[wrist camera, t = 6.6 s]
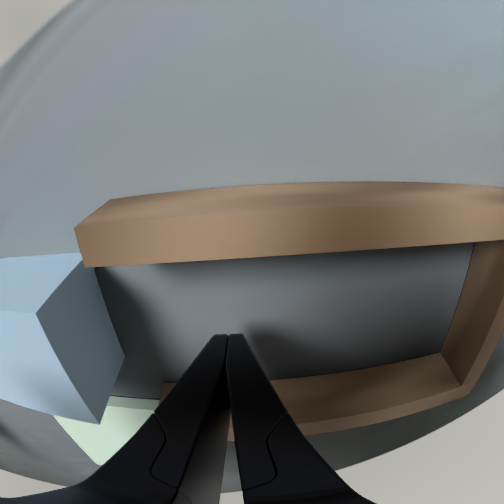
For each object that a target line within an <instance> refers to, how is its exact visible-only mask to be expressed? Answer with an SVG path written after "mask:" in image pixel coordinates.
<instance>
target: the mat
mask: <svg viewBox="0 0 504 504" xmlns="http://www.w3.org/2000/svg"><path fill="white" fill-rule="evenodd" d="M158 404H159V400H152V399H138V398H126V397H116V396H110V398H109V400H108V403H107V406H106V409H105V412H104V414H103V417H102V420H101V423H100V425H98V424H92V423H87V422H82V421H78V420H73V419H69V418H64V417H60V416H56V415H53V416H54V417H55V418H56V420H57V421H58V422H59V423H60V425H61V426H62V427H63V428H64V429H65V430H66V432H67V433H68V434H69V435H70V436H71V437H72V438H73V440H74V441H75V442H76V443H77V444H78V445H79V446H80V447H81V448H82V449H83V450H84V452H85V453H86V454H87V455H88V456H89V457H90V458H91V459H92V460H93V461H94V462H95V463H96V464H99V465H103V464H104V463H105V462H106V461H107V460H109V459H110V458H111V457H112V456H113V455H114V454H115V453H116V452H117V451H118V450H119V449H120V448H121V447H122V446H123V445H124V444H125V443H126V442H127V441H128V440H129V439H130V438H131V437H132V436H133V435H134V434H135V433H136V432H137V431H138V430H139V428H140V427H141V426H142V425H143V424H144V423H145V421H146V420H147V419H148V418H149V416H150V415H151V414H152V413H154V410H155V409H156V408H157V407H158Z"/></svg>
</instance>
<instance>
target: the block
mask: <svg viewBox="0 0 504 504" xmlns="http://www.w3.org/2000/svg"><path fill="white" fill-rule="evenodd" d="M124 358H125V355H124V353H123V350H122V348H121V345H120V343H119V340H118V338H117V335H116V333H115V330H114V327H113V325H112V322H111V319H110V316H109V314H108V311H107V308H106V305H105V302H104V299H103V296H102V293H101V290H100V287H99V284H98V280H97V277H96V274H95V270H94V267H88V268H85V265H84V262H83V259H82V255H81V253H67V254H53V255H39V256H26V257H13V258H0V399H3V400H6V401H9V402H12V403H15V404H18V405H21V406H24V407H27V408H31V409H34V410H38V411H41V412H45V413H48V414H52V415H56V416H60V417H64V418H69V419H73V420H78V421H82V422H87V423H92V424H98V425H100V423H101V420H102V417H103V414H104V412H105V409H106V406H107V403H108V400H109V398H110V395H111V392H112V389H113V387H114V384H115V381H116V379H117V376H118V374H119V371H120V368H121V366H122V363H123V361H124Z"/></svg>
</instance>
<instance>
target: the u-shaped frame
mask: <svg viewBox="0 0 504 504" xmlns="http://www.w3.org/2000/svg"><path fill="white" fill-rule="evenodd" d="M74 230H75V234H76V238H77V241H78V245H79V249H80V252H81V255H82V259H83V262H84V265H85V268H88V267H105V266H122V265H139V264H156V263H172V262H189V261H205V260H220V259H236V258H252V257H267V256H282V255H297V254H312V253H327V252H342V251H356V250H371V249H385V248H399V247H413V246H427V245H440V244H454V243H467V242H475V244H474V249H473V253H472V257H471V261H470V265H469V269H468V272H467V276H466V279H465V283H464V286H463V290H462V293H461V296H460V299H459V302H458V305H457V308H456V311H455V314H454V317H453V320H452V323H451V325H450V328H449V331H448V333H447V336H446V338H445V341H444V343H443V346H442V348H441V351H440V352H439V353H435V354H431V355H427V356H423V357H419V358H415V359H411V360H406V361H402V362H397V363H392V364H387V365H382V366H377V367H371V368H366V369H360V370H354V371H347V372H341V373H334V374H326V375H319V376H310V377H301V378H291V379H280V380H270V382H271V384H272V385H273V387H274V389H275V390H276V392H277V394H278V395H279V397H280V399H281V401H282V402H283V404H284V406H285V407H286V409H287V410H288V413H289V414H290V415H291V417H292V418H293V420H294V422H295V423H296V425H297V426H298V428H299V429H300V431H301V432H302V434H303V435H304V436H309V435H316V434H323V433H330V432H336V431H341V430H347V429H352V428H357V427H362V426H367V425H372V424H376V423H380V422H384V421H388V420H392V419H396V418H400V417H404V416H407V415H411V414H414V413H418V412H421V411H424V410H427V409H430V408H434V407H437V406H439V405H442V404H445V403H448V402H451V401H454V400H456V399H459V398H462V397H464V396H467V395H469V393H470V392H471V390H472V389H473V387H474V385H475V384H476V382H477V380H478V378H479V377H480V375H481V373H482V371H483V370H484V368H485V366H486V364H487V362H488V361H489V359H490V357H491V355H492V353H493V351H494V349H495V347H496V345H497V343H498V341H499V339H500V337H501V334H502V332H503V330H504V188H502V187H491V186H478V185H463V184H445V183H420V182H312V183H286V184H266V185H249V186H234V187H221V188H209V189H197V190H187V191H177V192H167V193H158V194H149V195H141V196H133V197H125V198H118V199H111V200H109V201H108V202H106V203H105V204H104V205H102V206H101V207H100V208H98V209H97V210H96V211H95V212H93V213H92V214H91V215H89V216H88V217H87V218H86V219H84V220H83V221H82V222H81V223H79V224H78V225H77V226H76V227H74ZM175 384H176V383H163V386H162V391H161V395H160V399H159V404H160V403H161V402H162V400H163V399H164V398H165V397H166V395H167V394H168V393H169V392H170V390H171V389H172V388H173V387H174V385H175ZM159 404H158V405H159ZM227 441H235V440H234V433H233V425H232V418H231V417H230V424H229V432H228V440H227Z"/></svg>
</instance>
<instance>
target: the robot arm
mask: <svg viewBox="0 0 504 504" xmlns="http://www.w3.org/2000/svg"><path fill="white" fill-rule="evenodd" d="M230 417H231V418H232V425H233V433H234V440H235V447H236V454H237V461H238V467H239V474H240V480H241V487H242V492H243V499H244V504H376V503H374V502H372V501H370V500H368V499H366V498H364V497H362V496H361V495H359V494H358V493H357V492H355V491H354V490H353V489H352V488H350V487H349V486H348V485H347V484H346V483H345V482H344V481H343V480H342V479H341V478H340V477H339V475H338V474H337V473H336V472H335V471H334V470H333V469H332V468H331V467H330V466H329V465H328V464H327V462H326V461H325V460H324V459H323V458H322V457H321V456H320V455H319V454H318V452H317V451H316V450H315V449H314V448H313V446H312V445H311V444H310V443H309V442H308V440H307V439H306V438H305V437H304V435H303V434H302V432H301V431H300V429H299V428H298V426H297V425H296V423H295V422H294V420H293V418H292V417H291V415H290V414H289V413H288V410H287V409H286V407H285V406H284V404H283V402H282V401H281V399H280V397H279V395H278V394H277V392H276V390H275V389H274V387H273V385H272V384H271V382H270V380H269V379H268V377H267V375H266V373H265V372H264V370H263V368H262V366H261V365H260V363H259V361H258V360H257V358H256V356H255V354H254V352H253V351H252V349H251V347H250V345H249V344H248V342H247V340H246V338H245V337H244V335H243V334H230V335H229V336H228V335H227V334H216V335H214V336H213V337H212V338H211V339H210V340H209V342H208V343H207V344H206V346H205V347H204V348H203V349H202V351H201V352H200V353H199V355H198V356H197V357H196V358H195V360H194V361H193V362H192V364H191V365H190V366H189V367H188V369H187V370H186V371H185V373H184V374H183V375H182V376H181V378H180V379H179V380H178V381H177V383H176V384H175V385H174V387H173V388H172V389H171V390H170V392H169V393H168V394H167V395H166V397H165V398H164V399H163V400H162V402H161V403H160V404H159V405H158V407H157V408H156V409H155V410H154V413H152V414H151V415H150V416H149V418H148V419H147V420H146V421H145V423H144V424H143V425H142V426H141V427H140V428H139V430H138V431H137V432H136V433H135V434H134V435H133V436H132V437H131V438H130V439H129V440H128V441H127V442H126V443H125V444H124V445H123V446H122V447H121V448H120V449H119V450H118V451H117V452H116V453H115V454H114V455H113V456H112V457H111V458H110V459H109V460H107V461H106V462H105V463H104V464H103V465H102V466H101V467H100V468H99V469H98V470H97V471H95V472H94V473H93V474H92V475H91V476H90V477H88V478H87V479H85V480H84V481H82V482H80V483H78V484H76V485H73V486H70V487H66V488H62V489H58V490H53V491H49V492H44V493H40V494H34V495H28V496H23V497H16V498H1V497H0V504H219V501H220V494H221V486H222V478H223V470H224V463H225V455H226V447H227V440H228V432H229V424H230Z"/></svg>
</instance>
